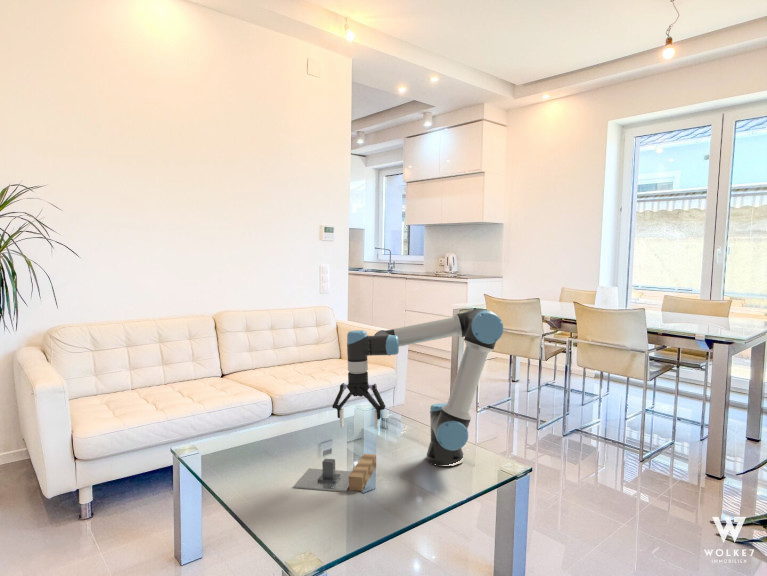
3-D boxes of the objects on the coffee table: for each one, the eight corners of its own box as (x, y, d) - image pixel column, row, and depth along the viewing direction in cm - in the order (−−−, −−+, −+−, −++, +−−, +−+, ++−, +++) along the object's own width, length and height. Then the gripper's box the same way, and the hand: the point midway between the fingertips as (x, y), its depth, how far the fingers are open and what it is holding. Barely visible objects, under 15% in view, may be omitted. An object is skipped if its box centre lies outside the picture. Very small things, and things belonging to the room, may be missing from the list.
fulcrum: (357, 473, 186) (357, 454, 186) (346, 492, 171) (345, 470, 170) (309, 469, 190) (308, 450, 190) (293, 487, 175) (292, 467, 175)
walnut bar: (364, 466, 194) (364, 453, 194) (376, 466, 193) (376, 454, 193) (348, 490, 173) (348, 476, 172) (362, 491, 171) (362, 477, 171)
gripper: (391, 369, 184) (393, 424, 185) (329, 369, 189) (330, 422, 189) (388, 374, 176) (389, 431, 177) (323, 373, 181) (324, 428, 182)
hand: (359, 427), depth 183 cm, fingers open, 13 cm apart
